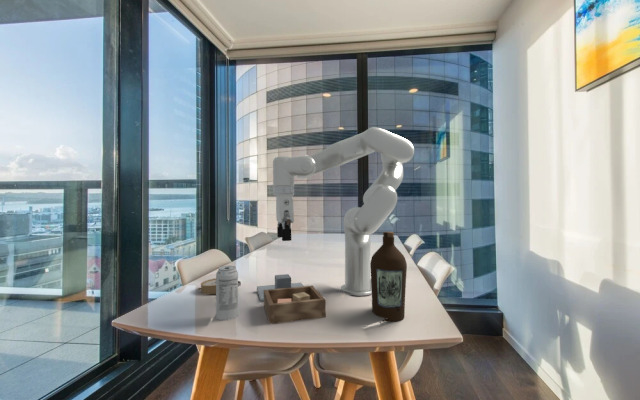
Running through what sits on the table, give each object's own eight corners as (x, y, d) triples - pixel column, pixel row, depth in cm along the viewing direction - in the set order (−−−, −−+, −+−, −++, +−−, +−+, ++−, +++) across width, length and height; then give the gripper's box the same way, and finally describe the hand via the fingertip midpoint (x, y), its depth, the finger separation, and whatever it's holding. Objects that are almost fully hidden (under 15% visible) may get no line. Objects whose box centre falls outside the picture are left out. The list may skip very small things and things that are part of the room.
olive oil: (369, 307, 94) (370, 229, 93) (403, 309, 92) (404, 230, 92) (370, 321, 83) (371, 233, 83) (409, 324, 82) (409, 234, 81)
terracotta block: (291, 311, 88) (291, 298, 88) (291, 317, 84) (291, 303, 84) (277, 312, 87) (277, 299, 87) (277, 317, 83) (277, 303, 83)
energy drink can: (237, 314, 88) (238, 264, 88) (237, 322, 82) (238, 269, 82) (216, 316, 86) (216, 265, 86) (215, 324, 81) (215, 270, 81)
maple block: (303, 304, 94) (303, 292, 94) (310, 308, 90) (310, 295, 90) (292, 306, 92) (292, 294, 92) (298, 311, 88) (298, 297, 88)
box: (312, 303, 97) (312, 285, 97) (325, 320, 84) (325, 299, 84) (263, 308, 92) (263, 289, 92) (269, 327, 79) (269, 305, 79)
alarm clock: (208, 278, 118) (244, 272, 116) (210, 290, 117) (246, 284, 116) (194, 286, 106) (233, 280, 105) (196, 300, 106) (235, 294, 105)
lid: (300, 288, 115) (300, 269, 115) (311, 300, 101) (311, 280, 101) (256, 292, 110) (256, 273, 110) (261, 306, 96) (261, 284, 96)
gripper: (299, 190, 98) (299, 241, 98) (289, 191, 115) (289, 235, 115) (277, 190, 96) (277, 242, 96) (269, 192, 112) (270, 236, 113)
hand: (284, 238), depth 105 cm, fingers open, 9 cm apart
